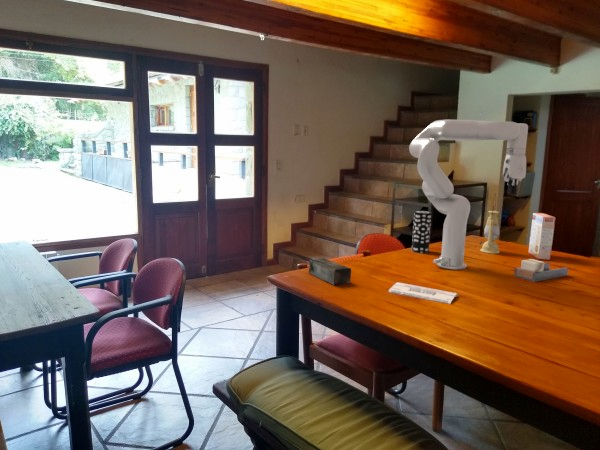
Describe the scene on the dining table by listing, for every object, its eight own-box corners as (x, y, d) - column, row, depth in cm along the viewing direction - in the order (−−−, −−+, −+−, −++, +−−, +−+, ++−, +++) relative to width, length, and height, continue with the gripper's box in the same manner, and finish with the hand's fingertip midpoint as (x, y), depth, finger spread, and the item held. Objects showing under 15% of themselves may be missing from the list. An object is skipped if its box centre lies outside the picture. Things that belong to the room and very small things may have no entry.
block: (533, 278, 182) (535, 263, 181) (520, 274, 187) (521, 260, 186) (542, 276, 185) (544, 262, 184) (529, 272, 190) (530, 258, 189)
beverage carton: (324, 271, 190) (325, 255, 189) (351, 283, 173) (352, 267, 172) (308, 273, 186) (308, 257, 185) (334, 286, 170) (335, 269, 168)
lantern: (480, 248, 240) (485, 191, 235) (500, 250, 235) (506, 192, 230) (477, 252, 230) (482, 193, 225) (498, 255, 225) (504, 194, 220)
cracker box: (551, 260, 217) (556, 217, 213) (537, 259, 218) (542, 216, 214) (540, 253, 230) (545, 212, 227) (527, 253, 231) (532, 212, 228)
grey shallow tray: (534, 281, 180) (535, 273, 180) (514, 276, 188) (514, 268, 188) (567, 275, 191) (568, 267, 190) (546, 270, 199) (547, 262, 198)
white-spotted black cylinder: (427, 249, 233) (429, 211, 230) (430, 253, 225) (433, 213, 222) (410, 249, 234) (413, 210, 231) (412, 252, 226) (415, 212, 223)
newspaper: (458, 296, 163) (458, 289, 162) (450, 309, 153) (450, 302, 152) (397, 284, 174) (397, 278, 174) (385, 296, 164) (386, 289, 164)
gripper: (512, 152, 191) (507, 195, 195) (534, 152, 199) (529, 194, 202) (497, 152, 198) (493, 194, 201) (519, 152, 205) (514, 192, 208)
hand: (511, 194), depth 201 cm, fingers closed
